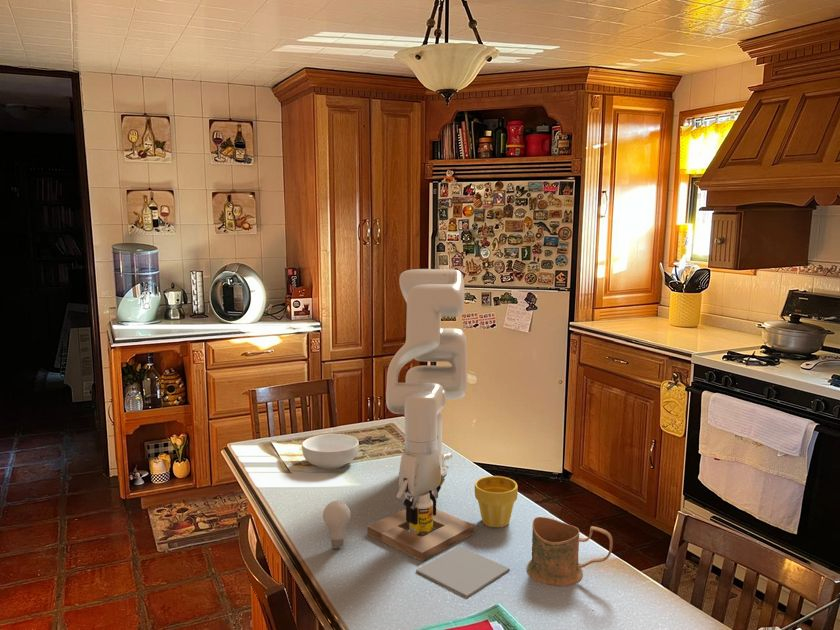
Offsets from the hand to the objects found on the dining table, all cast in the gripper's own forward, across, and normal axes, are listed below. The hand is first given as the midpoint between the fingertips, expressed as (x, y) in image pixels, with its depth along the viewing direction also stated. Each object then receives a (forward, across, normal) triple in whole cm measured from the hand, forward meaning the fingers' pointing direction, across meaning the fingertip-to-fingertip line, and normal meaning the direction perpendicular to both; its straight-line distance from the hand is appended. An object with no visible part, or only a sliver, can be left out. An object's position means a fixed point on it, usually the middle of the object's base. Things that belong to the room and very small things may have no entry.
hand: (421, 517), depth 159 cm
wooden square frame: (+4, 0, 0) cm, 4 cm away
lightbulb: (+4, +18, -9) cm, 21 cm away
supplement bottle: (+4, 0, 0) cm, 4 cm away
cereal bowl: (+4, -13, -50) cm, 52 cm away
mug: (+4, -8, +35) cm, 36 cm away
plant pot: (+4, -17, +9) cm, 20 cm away
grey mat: (+4, +6, +18) cm, 19 cm away
